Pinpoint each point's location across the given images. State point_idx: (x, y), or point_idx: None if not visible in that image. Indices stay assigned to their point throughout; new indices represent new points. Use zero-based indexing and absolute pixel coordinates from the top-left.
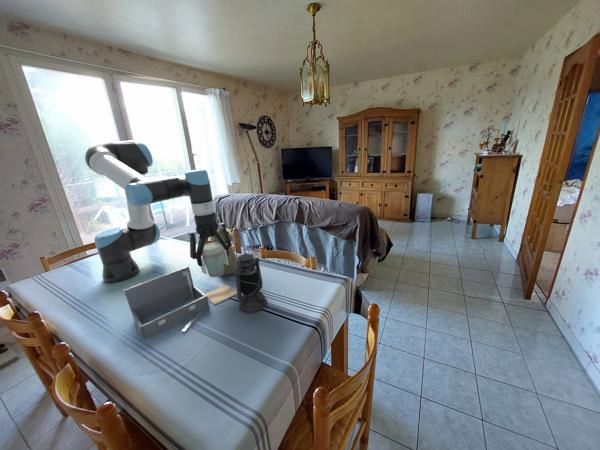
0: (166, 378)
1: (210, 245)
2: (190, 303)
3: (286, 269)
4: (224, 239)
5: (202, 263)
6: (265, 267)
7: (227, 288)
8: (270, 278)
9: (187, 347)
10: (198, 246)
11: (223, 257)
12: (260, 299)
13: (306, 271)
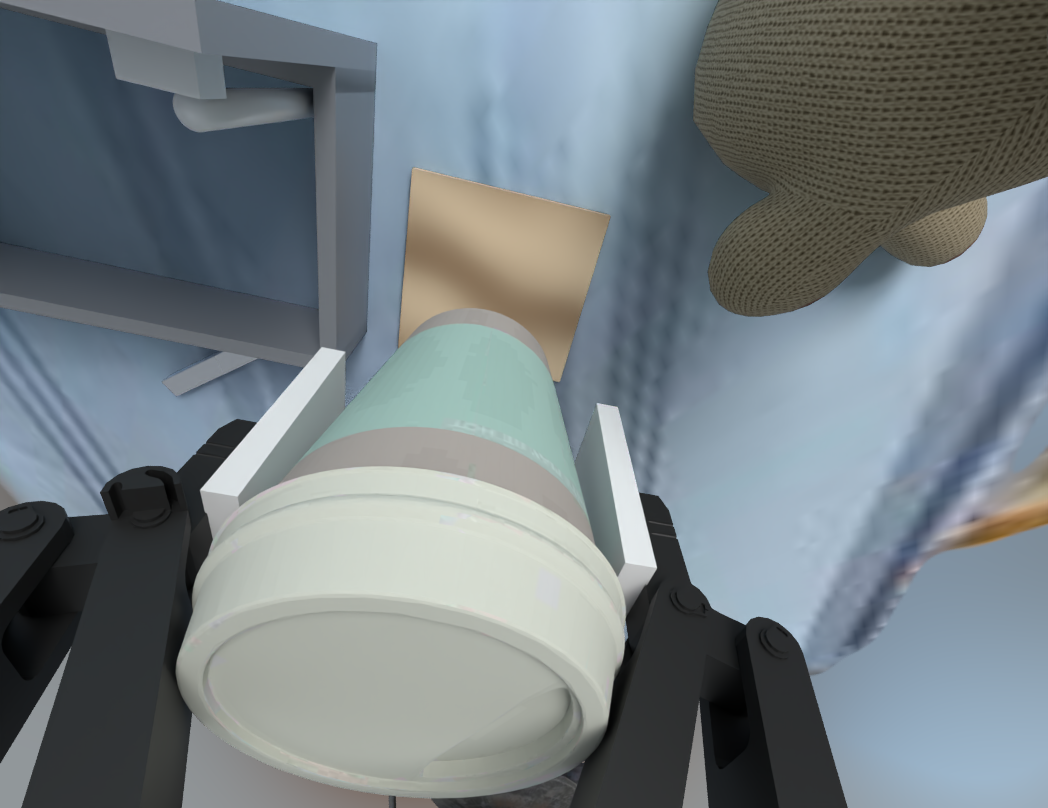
0: (85, 505)
1: (415, 683)
2: (212, 346)
3: (925, 460)
4: (769, 751)
5: None
6: (962, 314)
7: (567, 282)
8: (786, 439)
9: (175, 462)
10: (60, 757)
11: (598, 476)
12: None
13: (901, 553)
